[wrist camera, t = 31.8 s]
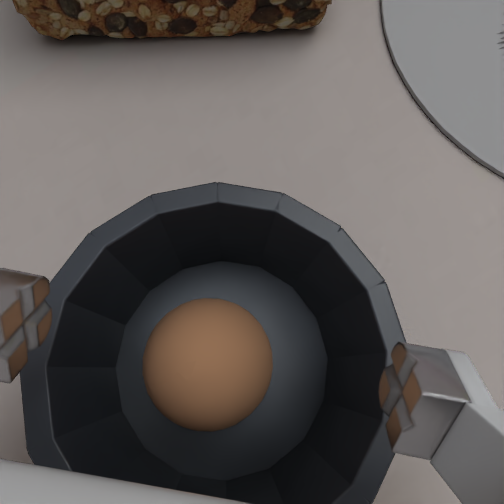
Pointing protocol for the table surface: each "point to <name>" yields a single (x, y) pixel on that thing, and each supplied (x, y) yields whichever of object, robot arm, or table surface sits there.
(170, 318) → the egg
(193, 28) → the bread
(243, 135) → the table surface
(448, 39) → the plate
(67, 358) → the pot
